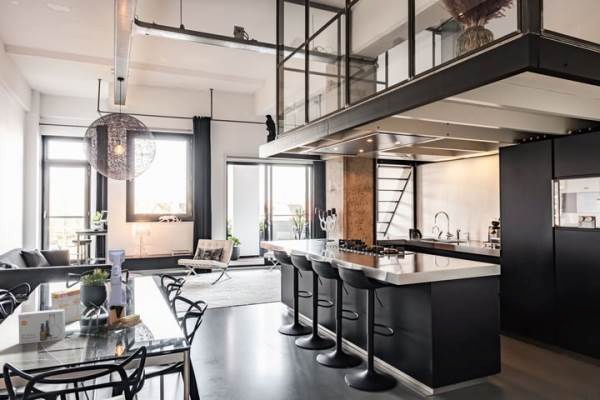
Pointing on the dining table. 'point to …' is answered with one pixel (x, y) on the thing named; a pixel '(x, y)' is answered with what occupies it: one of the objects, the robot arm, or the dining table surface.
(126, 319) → the plywood offcut stack
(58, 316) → the skincare box
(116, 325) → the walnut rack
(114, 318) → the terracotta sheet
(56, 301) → the coffeecake box
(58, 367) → the dining table surface
